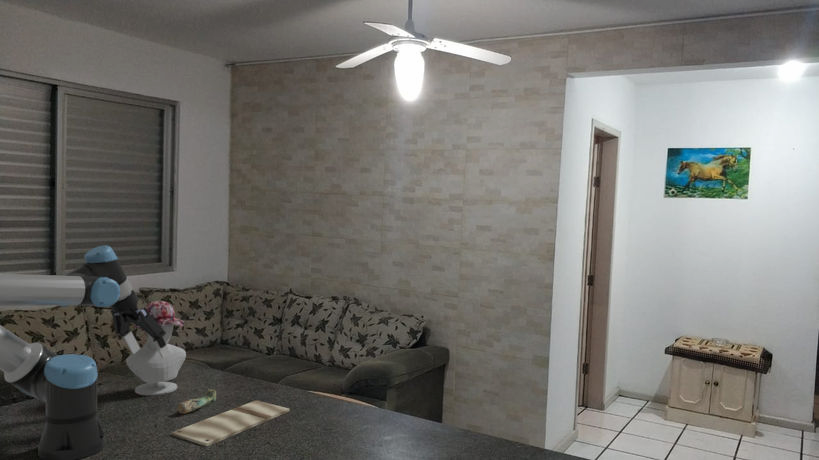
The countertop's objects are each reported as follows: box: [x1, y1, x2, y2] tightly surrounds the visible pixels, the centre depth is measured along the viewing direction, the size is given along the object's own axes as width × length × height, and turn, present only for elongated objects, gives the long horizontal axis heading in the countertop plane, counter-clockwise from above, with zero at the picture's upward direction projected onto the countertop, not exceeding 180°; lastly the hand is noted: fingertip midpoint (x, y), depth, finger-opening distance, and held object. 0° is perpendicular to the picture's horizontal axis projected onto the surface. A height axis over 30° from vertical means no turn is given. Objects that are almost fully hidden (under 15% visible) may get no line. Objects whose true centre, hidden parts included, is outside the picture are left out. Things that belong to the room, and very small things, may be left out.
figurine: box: [177, 388, 217, 415], centre depth 195 cm, size 6×15×4 cm, turn 152°
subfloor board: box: [170, 400, 291, 447], centre depth 183 cm, size 32×14×1 cm, turn 149°
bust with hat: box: [125, 300, 187, 396], centre depth 210 cm, size 19×18×30 cm
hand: (150, 353), depth 193 cm, fingers open, 13 cm apart
